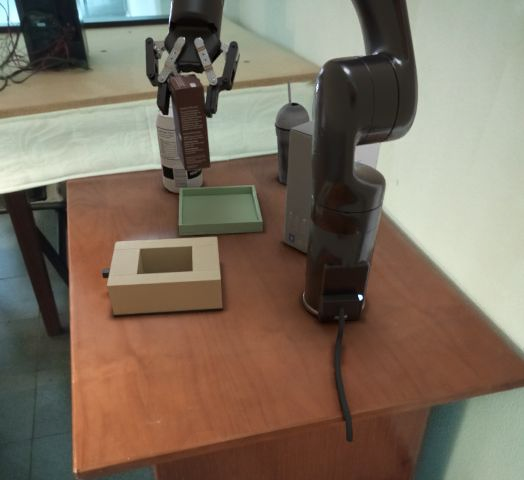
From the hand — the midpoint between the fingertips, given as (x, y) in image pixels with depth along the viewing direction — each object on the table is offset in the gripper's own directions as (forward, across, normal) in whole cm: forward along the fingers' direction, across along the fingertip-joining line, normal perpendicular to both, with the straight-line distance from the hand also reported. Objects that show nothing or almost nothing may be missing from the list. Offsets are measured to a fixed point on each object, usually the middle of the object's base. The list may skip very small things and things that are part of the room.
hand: (186, 113), depth 72 cm
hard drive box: (+11, +22, +21) cm, 32 cm away
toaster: (+25, -2, +6) cm, 26 cm away
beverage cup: (-5, +14, +37) cm, 40 cm away
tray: (+7, +1, +24) cm, 25 cm away
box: (+5, 0, +7) cm, 8 cm away
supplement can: (0, -8, +32) cm, 33 cm away
